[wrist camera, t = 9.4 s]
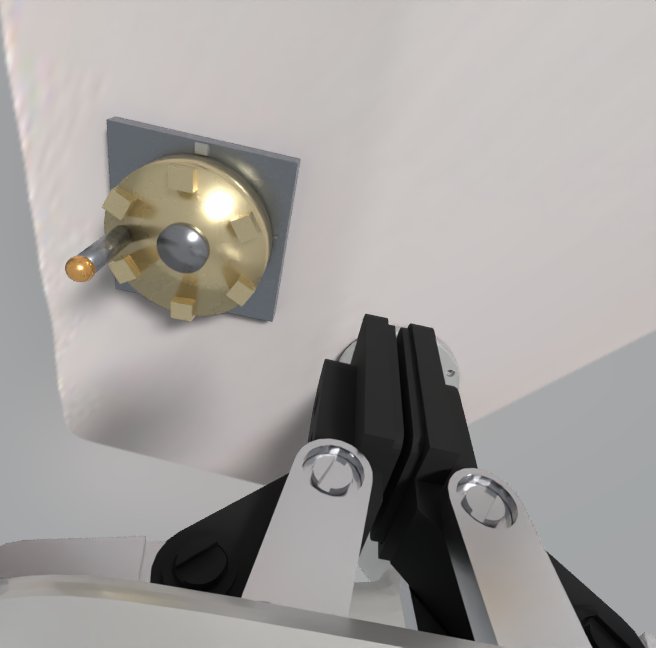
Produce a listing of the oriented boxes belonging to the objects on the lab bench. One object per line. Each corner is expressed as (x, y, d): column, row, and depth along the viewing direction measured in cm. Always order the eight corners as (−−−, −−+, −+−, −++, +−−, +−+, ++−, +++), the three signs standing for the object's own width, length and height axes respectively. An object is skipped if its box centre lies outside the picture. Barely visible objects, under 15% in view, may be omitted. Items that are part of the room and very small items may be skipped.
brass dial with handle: (280, 170, 36) (251, 213, 27) (265, 311, 43) (238, 380, 34) (115, 138, 36) (33, 171, 27) (126, 285, 43) (64, 349, 34)
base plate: (275, 313, 45) (271, 324, 44) (122, 281, 45) (113, 290, 43) (300, 158, 37) (297, 164, 36) (115, 116, 37) (103, 120, 35)
